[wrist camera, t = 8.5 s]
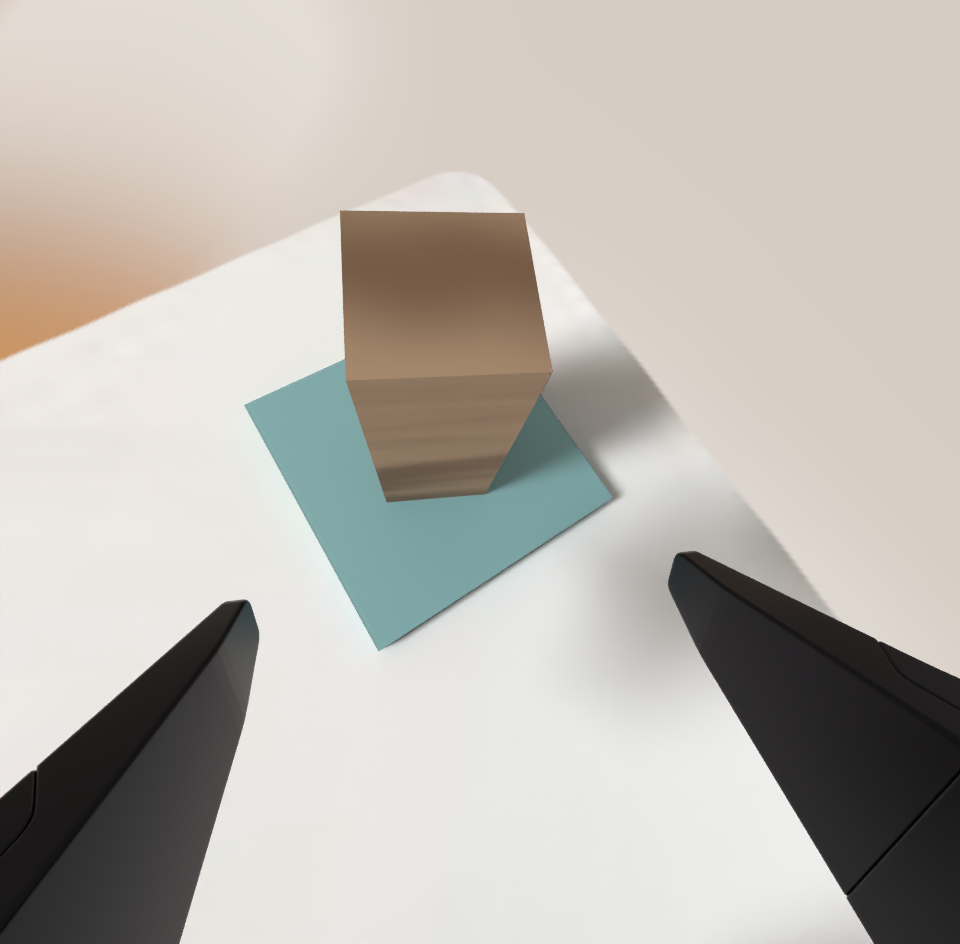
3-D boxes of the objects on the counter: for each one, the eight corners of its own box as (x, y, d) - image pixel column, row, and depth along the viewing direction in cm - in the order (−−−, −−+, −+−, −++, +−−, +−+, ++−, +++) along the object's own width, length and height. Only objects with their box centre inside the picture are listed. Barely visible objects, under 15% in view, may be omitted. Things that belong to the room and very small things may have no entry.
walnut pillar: (485, 494, 23) (552, 371, 11) (386, 502, 22) (345, 380, 10) (474, 406, 24) (524, 213, 12) (381, 410, 24) (340, 210, 12)
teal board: (605, 501, 25) (612, 497, 24) (380, 649, 21) (378, 651, 20) (472, 311, 27) (474, 300, 26) (251, 413, 24) (244, 405, 23)
